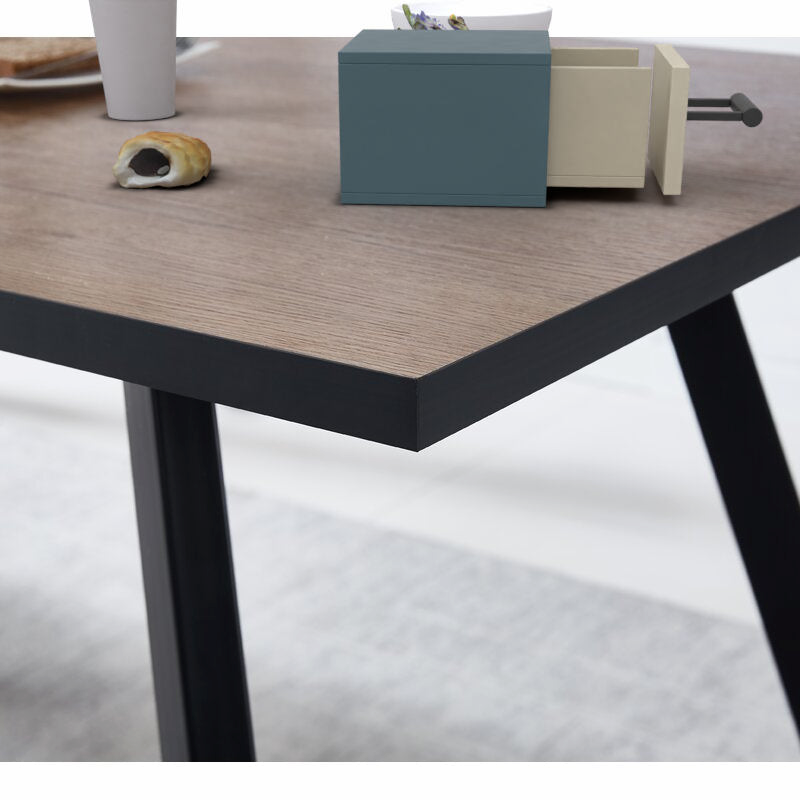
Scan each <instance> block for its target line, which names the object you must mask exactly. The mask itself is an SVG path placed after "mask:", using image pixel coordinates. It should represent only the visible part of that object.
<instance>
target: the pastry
mask: <svg viewBox="0 0 800 800" xmlns="http://www.w3.org/2000/svg"><path fill="white" fill-rule="evenodd" d="M212 160H213V159H212V150H211V149H210V148H209V146H208V144H207V142H205V141H203V140H202V139H200V138H198V137H193V136H191V135H188V134H186V133H183V132H177V131H175V132H173V131H170V132H169V131H158V130H150V131H148V132H145V133H142V134H138V135H136V136H135V137H132V138H128V139H127V140H125V142H124V143H123V144H122V146H121V147H120V149H119V151H118V157H117V160H116V162H115V164H114V165H113V166H112V168H111V173H112V176H113V177H114V178H115V179H116V180H117V181H118V183H119V185H120V186H121V187H123V188H126V189H129V188H133V189H134V188H138V189H145V188H150V187H155V186H159V187H164V188H165V187H166V188H172V187H180V186H190V185H192V184H194V183H197V182H201V180H202V178H203V177H205V178H207V177H208V174H209V173H210V170H211V165H212Z"/></svg>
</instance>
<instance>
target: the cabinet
mask: <svg viewBox="0 0 800 800" xmlns="http://www.w3.org/2000/svg"><path fill="white" fill-rule="evenodd" d="M551 47H552V46H551V40H550V32H549V29H548V30H397V29H394V28H392V29H391V28H390V29H387V28H386V29H383V28H381V29H379V28H378V29H377V28H376V29H375V28H374V29H373V28H369V29H368V28H364V29H361V30H360V31H359V32H358V33H357V34H356V35H355V36H354V37H353V38H352V39H351V40H349V41H348V42H347V43H346V44H345V45H344V46H343V47H341V49H339V51H338V52H337V64H338V65H337V77H338V78H337V80H338V81H337V82H338V85H337V86H338V129H339V130H338V132H339V170H340V171H339V173H340V174H339V176H340V177H339V179H340V181H339V182H340V183H339V184H340V204H343V205H392V206H393V205H395V206H397V205H398V206H452V207H504V208H507V207H510V208H546V207H547V187H548V186H547V160H548V134H549V109H550V83H551V57H552V54H551Z"/></svg>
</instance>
